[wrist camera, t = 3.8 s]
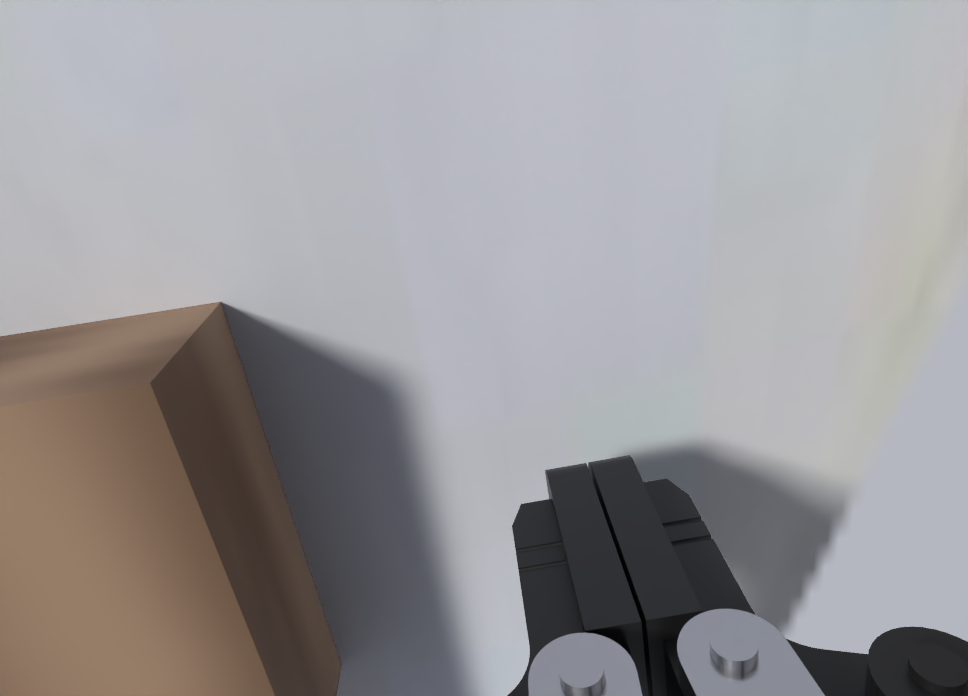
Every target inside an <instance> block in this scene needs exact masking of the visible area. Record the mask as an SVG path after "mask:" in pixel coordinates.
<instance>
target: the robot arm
mask: <svg viewBox="0 0 968 696" xmlns="http://www.w3.org/2000/svg"><path fill="white" fill-rule="evenodd" d="M545 473H546V480H547V487H548V493H549V499H548V500H543V501H537V502H531V503H525V504H521V506H520V509H519V511H518V513H517V516H516V518H515V521H514V523H513V525H512V528H513V534H514V541H515V548H516V555H517V562H518V569H519V576H520V582H521V589H522V596H523V603H524V610H525V617H526V624H527V631H528V637H529V644H530V658H529V664H528V667H527V670H526V672H525V674H524V676H523V678H522V680H521V681H520V683H519V684H518V685H517V687H516V688H515V689H514V690H513V691H512V692H511V693H510V694H509V695H508V696H968V642H966V641H964V640H962V639H960V638H958V637H955V636H953V635H950V634H948V633H945V632H941V631H938V630H934V629H928V628H923V627H902V628H896V629H892V630H890V631H887V632H885V633H883V634H881V635H880V636H879V637H877V638H876V639H875V641H874V642H873V643H872V645H871V647H870V649H869V654H859V653H850V652H841V651H832V650H823V649H817V648H811V647H808V646H804V645H800V644H798V643H795V642H792V641H790V640H788V639H786V638H785V637H784V636H783V634H782V633H781V632H780V631H779V630H778V629H777V628H776V627H775V626H773V625H772V624H771V623H769V622H768V621H766V620H765V619H763V618H761V617H759V616H757V615H755V613H754V612H753V610H752V609H751V607H750V605H749V604H748V602H747V600H746V598H745V596H744V595H743V593H742V591H741V589H740V587H739V585H738V584H737V582H736V580H735V578H734V576H733V575H732V573H731V571H730V569H729V567H728V565H727V564H726V562H725V560H724V558H723V556H722V555H721V553H720V551H719V549H718V547H717V546H716V544H715V542H714V540H713V539H711V535H710V533H709V531H708V529H707V527H706V526H705V524H704V522H703V521H701V516H700V515H699V513H698V511H697V509H696V507H695V506H694V504H693V502H692V500H691V498H690V497H689V495H688V494H686V493H685V492H684V491H682V490H681V489H680V488H678V487H677V486H676V485H674V484H673V483H672V482H670V481H669V480H668V479H662V480H657V481H651V482H645V483H643V481H642V479H641V477H640V474H639V472H638V470H637V468H636V466H635V464H634V461H633V459H632V458H631V456H630V455H629V456H623V457H617V458H612V459H606V460H600V461H594V462H589V463H588V467H587V464H586V463H584V464H578V465H572V466H567V467H561V468H555V469H550V470H545Z"/></svg>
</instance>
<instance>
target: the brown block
mask: <svg viewBox="0 0 968 696" xmlns="http://www.w3.org/2000/svg"><path fill="white" fill-rule="evenodd" d="M340 670H341V662H340V659H339V656H338V653H337V650H336V647H335V644H334V641H333V638H332V635H331V632H330V629H329V626H328V623H327V620H326V617H325V614H324V611H323V608H322V605H321V602H320V599H319V596H318V593H317V590H316V587H315V584H314V581H313V578H312V575H311V572H310V569H309V566H308V563H307V560H306V557H305V554H304V551H303V548H302V545H301V542H300V539H299V536H298V533H297V530H296V527H295V524H294V521H293V518H292V515H291V512H290V509H289V506H288V503H287V500H286V497H285V494H284V490H283V487H282V484H281V481H280V478H279V475H278V472H277V469H276V466H275V463H274V460H273V457H272V454H271V451H270V448H269V445H268V442H267V439H266V436H265V433H264V430H263V427H262V424H261V421H260V418H259V415H258V412H257V409H256V406H255V403H254V400H253V397H252V394H251V391H250V388H249V385H248V382H247V379H246V376H245V373H244V370H243V367H242V364H241V361H240V358H239V355H238V352H237V349H236V346H235V343H234V340H233V337H232V334H231V331H230V328H229V325H228V322H227V319H226V316H225V313H224V310H223V307H222V304H221V302H217V303H211V304H205V305H198V306H192V307H185V308H179V309H173V310H166V311H160V312H154V313H147V314H141V315H135V316H128V317H122V318H116V319H109V320H103V321H96V322H90V323H84V324H77V325H71V326H65V327H58V328H52V329H46V330H39V331H33V332H27V333H20V334H14V335H7V336H1V337H0V696H336V694H337V688H338V682H339V676H340Z"/></svg>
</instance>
